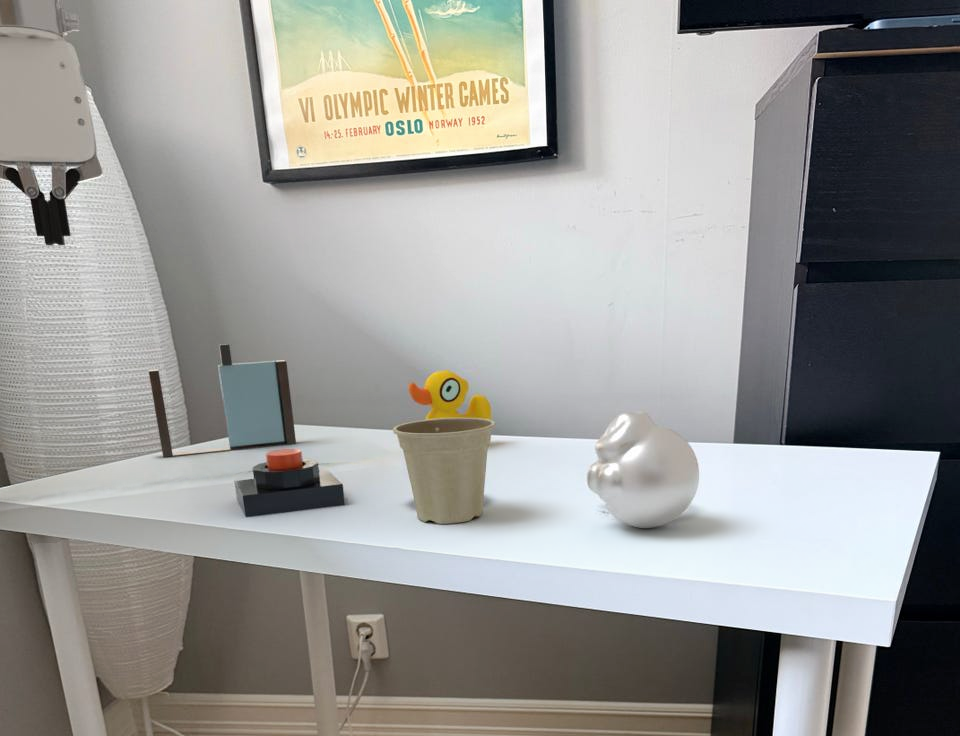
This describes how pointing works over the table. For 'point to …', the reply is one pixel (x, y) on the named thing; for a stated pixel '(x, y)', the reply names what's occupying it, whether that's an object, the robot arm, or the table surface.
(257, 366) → the window pane
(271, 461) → the button
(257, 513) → the button box
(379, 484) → the table surface
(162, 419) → the window frame
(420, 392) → the duckling
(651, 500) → the pearly white lumpy ball
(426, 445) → the flower pot
